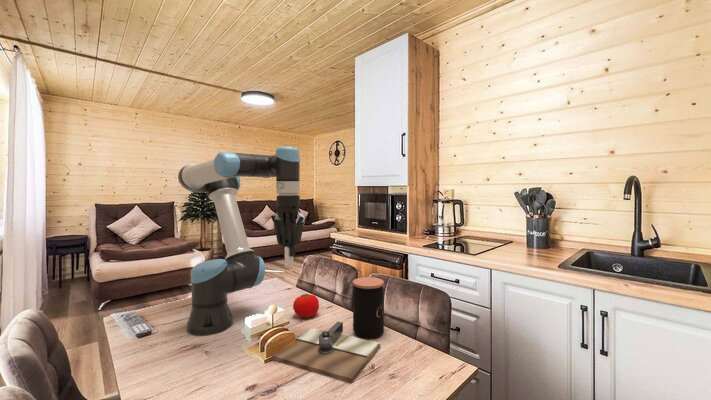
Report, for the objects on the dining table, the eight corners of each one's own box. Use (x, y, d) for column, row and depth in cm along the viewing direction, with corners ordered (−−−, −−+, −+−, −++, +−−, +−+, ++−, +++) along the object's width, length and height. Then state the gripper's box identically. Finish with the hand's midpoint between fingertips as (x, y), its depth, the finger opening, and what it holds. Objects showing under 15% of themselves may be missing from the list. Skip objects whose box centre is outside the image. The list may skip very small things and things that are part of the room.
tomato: (323, 316, 124) (323, 295, 124) (299, 323, 119) (298, 300, 118) (312, 309, 132) (312, 289, 132) (289, 314, 126) (289, 293, 126)
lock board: (272, 359, 93) (272, 353, 93) (310, 331, 111) (310, 326, 111) (351, 383, 82) (351, 376, 82) (380, 347, 100) (380, 342, 100)
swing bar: (328, 351, 94) (328, 336, 93) (316, 349, 95) (316, 334, 95) (345, 332, 106) (345, 319, 106) (334, 331, 107) (334, 317, 107)
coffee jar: (382, 341, 104) (382, 286, 103) (350, 338, 106) (349, 285, 105) (385, 327, 114) (385, 277, 114) (356, 324, 117) (356, 276, 116)
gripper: (264, 194, 104) (266, 266, 105) (297, 195, 98) (298, 270, 99) (279, 194, 111) (280, 261, 112) (311, 194, 105) (312, 265, 106)
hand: (289, 265), depth 105 cm, fingers closed
